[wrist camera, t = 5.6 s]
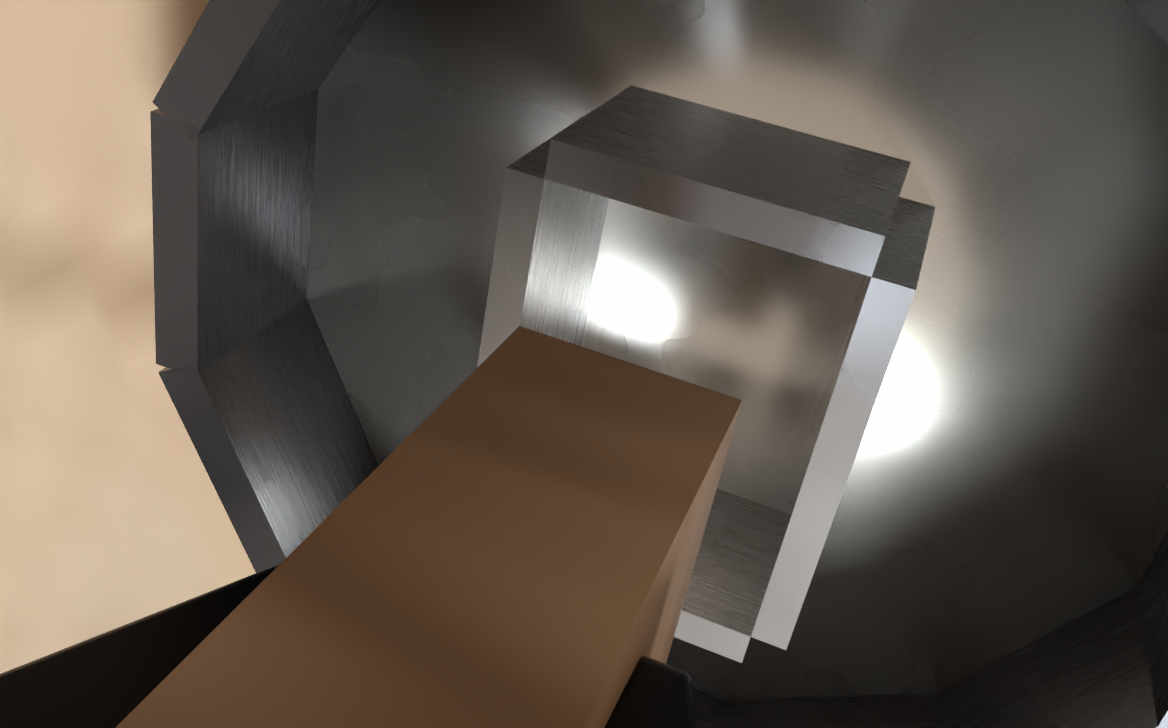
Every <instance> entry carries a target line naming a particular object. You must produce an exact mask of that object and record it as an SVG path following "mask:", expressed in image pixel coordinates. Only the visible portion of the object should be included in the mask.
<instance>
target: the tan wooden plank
mask: <svg viewBox="0 0 1168 728" xmlns="http://www.w3.org/2000/svg"><path fill="white" fill-rule="evenodd" d="M741 403H742V400H741V399H738V398H735V397H732V396H729V395H726V394H723V393H720V392H717V391H714V390H711V389H708V388H705V387H702V386H699V385H696V384H693V383H690V382H687V381H684V380H681V379H678V378H675V377H672V376H669V375H666V374H663V373H660V372H657V371H654V370H651V369H648V368H645V367H642V366H639V365H636V364H633V363H630V362H627V361H624V360H621V359H618V358H614V357H611V356H608V355H605V354H602V353H599V352H596V351H593V350H590V349H587V348H584V347H581V346H578V345H575V344H572V343H569V342H566V341H563V340H560V339H557V338H554V337H551V336H548V335H545V334H542V333H539V332H536V331H533V330H530V329H527V328H524V327H521V326H519V327H518V328H517V329H516V330H515V331H514V332H513V333H512V334H511V335H510V336H509V337H508V338H507V339H506V340H505V341H504V342H503V343H502V344H501V345H500V346H499V347H498V348H497V349H496V350H495V351H494V352H493V353H492V354H491V355H490V356H489V357H488V358H487V359H486V360H485V361H484V362H483V363H482V364H481V365H480V366H479V367H478V368H477V369H476V370H475V371H474V372H473V373H472V374H471V375H470V376H469V377H468V378H467V379H466V380H465V381H464V382H463V383H462V384H461V385H460V386H459V387H458V388H457V389H456V390H454V391H453V392H452V393H451V394H450V395H449V396H448V397H447V398H446V399H445V400H444V401H443V402H442V403H441V404H440V405H439V406H438V407H437V408H436V409H435V410H434V411H433V412H432V413H431V414H430V415H429V416H428V417H427V418H426V419H425V420H424V421H423V422H422V423H421V424H420V425H419V426H418V427H417V428H416V429H415V430H414V431H413V432H412V433H411V434H410V435H409V436H408V437H407V438H406V439H405V440H404V441H403V442H402V443H401V444H400V445H399V446H398V447H397V448H396V449H395V450H394V451H393V452H392V453H391V454H390V455H389V456H388V457H387V458H386V459H385V460H384V461H383V462H382V463H381V464H380V465H379V466H378V467H377V468H376V469H375V470H374V471H373V472H372V473H371V474H370V475H369V476H368V477H367V478H366V479H365V480H364V481H363V482H362V483H361V484H360V485H359V486H358V487H357V488H356V489H355V490H354V491H353V492H352V493H351V494H350V495H349V496H348V497H347V498H346V499H345V500H344V501H343V502H342V503H341V504H340V505H339V506H338V507H337V508H336V509H335V510H334V511H333V512H332V513H331V514H330V515H329V516H328V517H327V518H326V519H325V520H324V521H323V522H322V523H321V524H320V525H319V526H318V527H317V528H316V529H315V530H314V531H313V532H312V533H311V534H310V535H309V536H308V537H307V538H306V539H305V540H304V541H303V542H302V543H301V544H300V545H299V546H298V547H297V548H296V549H295V550H294V551H293V552H292V553H291V554H290V555H289V556H288V557H287V558H286V559H285V560H284V561H283V562H282V563H281V564H280V565H279V566H278V567H277V568H276V569H275V570H274V571H273V572H272V573H270V574H269V575H268V576H267V577H266V578H265V579H264V580H263V581H262V582H261V583H260V584H259V585H258V586H257V587H256V588H255V589H254V590H253V591H252V592H251V593H250V594H249V595H248V596H247V597H246V598H245V599H244V600H243V601H242V602H241V603H240V604H239V605H238V606H237V607H236V608H235V609H234V610H233V611H232V612H231V613H230V614H229V615H228V616H227V617H226V618H225V619H224V620H223V621H222V622H221V623H220V624H219V625H218V626H217V627H216V628H215V629H214V630H213V631H212V632H211V633H210V634H209V635H208V636H207V637H206V638H205V639H204V640H203V641H202V642H201V643H200V644H199V645H198V646H197V647H196V648H195V649H194V650H193V651H192V652H191V653H190V654H189V655H188V656H187V657H186V658H185V659H184V660H183V661H182V662H181V663H180V664H179V665H178V666H177V667H176V668H175V669H174V670H173V671H172V672H171V673H170V674H169V675H168V676H167V677H166V678H165V679H164V680H163V681H162V682H161V683H160V684H159V685H158V686H157V687H156V688H155V689H154V690H153V691H152V692H151V693H150V694H149V695H148V696H147V697H146V698H145V699H144V700H143V701H142V702H141V703H140V704H139V705H138V706H137V707H136V708H135V709H134V710H133V711H132V712H131V713H130V714H129V715H128V716H127V717H126V718H125V719H124V720H123V721H122V722H121V723H120V724H119V725H118V726H117V727H116V728H604V727H605V725H606V723H607V721H608V719H609V717H610V716H611V714H612V712H613V710H614V708H615V706H616V704H617V702H618V700H619V698H620V696H621V694H622V692H623V690H624V688H625V686H626V684H627V682H628V680H629V678H630V676H631V674H632V672H633V670H634V669H635V667H636V665H637V663H638V661H639V659H640V658H641V657H642V656H648V657H650V658H653V659H655V660H658V661H660V662H663V663H665V664H666V662H667V659H668V655H669V652H670V648H671V645H672V641H673V638H674V634H675V631H676V628H677V624H678V621H679V617H680V614H681V610H682V607H683V603H684V600H685V596H686V593H687V590H688V586H689V583H690V579H691V576H692V572H693V569H694V565H695V562H696V558H697V555H698V552H699V548H700V545H701V541H702V538H703V534H704V531H705V527H706V524H707V521H708V517H709V514H710V510H711V507H712V503H713V500H714V496H715V493H716V489H717V486H718V483H719V479H720V476H721V472H722V469H723V465H724V462H725V458H726V455H727V451H728V448H729V445H730V441H731V438H732V434H733V431H734V427H735V424H736V420H737V417H738V413H739V410H740V407H741Z"/></svg>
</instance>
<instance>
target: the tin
mask: <svg viewBox="0 0 1168 728" xmlns="http://www.w3.org/2000/svg"><path fill="white" fill-rule="evenodd" d="M153 103H154V104H155V105H156V106H157V107H158V108H159V109H157V110H154V111H151V155H152V200H153V245H154V290H155V335H156V364H159V365H161V366H164V367H166V368H164V369H163V370H161V371H159V375H160V377H161V379H162V381H163V383H164V385H165V387H166V389H167V391H168V393H169V395H170V397H171V399H172V401H173V403H174V405H175V407H176V409H177V411H178V413H179V416H180V418H181V420H182V422H183V424H184V426H185V428H186V430H187V432H188V434H189V436H190V438H191V440H192V442H193V444H194V446H195V448H196V450H197V452H198V454H199V457H200V459H201V461H202V463H203V465H204V467H205V469H206V471H207V473H208V475H209V477H210V479H211V481H212V483H213V485H214V487H215V489H216V491H217V493H218V496H219V498H220V500H221V502H222V504H223V506H224V508H225V510H226V512H227V514H228V516H229V518H230V520H231V522H232V524H233V526H234V528H235V530H236V532H237V534H238V537H239V539H240V541H241V543H242V545H243V547H244V549H245V551H246V553H247V555H248V557H249V559H250V561H251V563H252V565H253V567H254V569H255V571H256V573H259V572H261V571H264V570H266V569H269V568H271V567H274V566H276V565H279V564H281V563H282V562H283V561H284V560H285V559H286V558H287V557H288V556H289V555H290V554H291V553H292V552H293V551H294V550H295V549H296V548H297V547H298V546H299V545H300V544H301V543H302V542H303V541H304V540H305V539H306V538H307V537H308V536H309V535H310V534H311V533H312V532H313V531H314V530H315V529H316V528H317V527H318V526H319V525H320V524H321V523H322V522H323V521H324V520H325V519H326V518H327V517H328V516H329V515H330V514H331V513H332V512H333V511H334V510H335V509H336V508H337V507H338V506H339V505H340V504H341V503H342V502H343V501H344V500H345V499H346V498H347V497H348V496H349V495H350V494H351V493H352V492H353V491H354V490H355V489H356V488H357V487H358V486H359V485H360V484H361V483H362V482H363V481H364V480H365V479H366V478H367V477H368V476H369V475H370V474H371V473H372V472H373V471H374V470H375V469H376V468H377V467H378V466H379V465H380V464H381V463H382V462H383V461H384V460H385V459H386V458H387V457H388V456H389V455H390V454H391V453H392V452H393V451H394V450H395V449H396V448H397V447H398V446H399V445H400V444H401V443H402V442H403V441H404V440H405V439H406V438H407V437H408V436H409V435H410V434H411V433H412V432H413V431H414V430H415V429H416V428H417V427H418V426H419V425H420V424H421V423H422V422H423V421H424V420H425V419H426V418H427V417H428V416H429V415H430V414H431V413H432V412H433V411H434V410H435V409H436V408H437V407H438V406H439V405H440V404H441V403H442V402H443V401H444V400H445V399H446V398H447V397H448V396H449V395H450V394H451V393H452V392H453V391H454V390H456V389H457V388H458V387H459V386H460V385H461V384H462V383H463V382H464V381H465V380H466V379H467V378H468V377H469V376H470V375H471V374H472V373H473V372H474V371H475V370H476V369H477V368H478V367H479V366H480V365H481V364H482V363H483V362H484V361H485V360H486V359H487V358H488V357H489V356H490V355H491V354H492V353H493V352H494V351H495V350H496V349H497V348H498V347H499V346H500V345H501V344H502V343H503V342H504V341H505V340H506V339H507V338H508V337H509V336H510V335H511V334H512V333H513V332H514V331H515V330H516V329H517V328H518V327H519V326H521V327H524V328H527V329H530V330H533V331H536V332H539V333H542V334H545V335H548V336H551V337H554V338H557V339H560V340H563V341H566V342H569V343H572V344H575V345H578V346H581V347H584V348H587V349H590V350H593V351H596V352H599V353H602V354H605V355H608V356H611V357H614V358H618V359H621V360H624V361H627V362H630V363H633V364H636V365H639V366H642V367H645V368H648V369H651V370H654V371H657V372H660V373H663V374H666V375H669V376H672V377H675V378H678V379H681V380H684V381H687V382H690V383H693V384H696V385H699V386H702V387H705V388H708V389H711V390H714V391H717V392H720V393H723V394H726V395H729V396H732V397H735V398H738V399H741V400H742V403H741V407H740V410H739V413H738V417H737V420H736V424H735V427H734V431H733V434H732V438H731V441H730V445H729V448H728V451H727V455H726V458H725V462H724V465H723V469H722V472H721V476H720V479H719V483H718V486H717V489H716V493H715V496H714V500H713V503H712V507H711V510H710V514H709V517H708V521H707V524H706V527H705V531H704V534H703V538H702V541H701V545H700V548H699V552H698V555H697V558H696V562H695V565H694V569H693V572H692V576H691V579H690V583H689V586H688V590H687V593H686V596H685V600H684V603H683V607H682V610H681V614H680V617H679V621H678V624H677V628H676V631H675V634H674V638H673V641H672V645H671V648H670V652H669V655H668V659H667V662H666V664H668V665H671V666H673V667H676V668H678V669H681V670H683V671H685V672H687V673H688V675H689V676H690V678H691V681H692V685H693V694H694V704H695V714H696V723H697V728H1168V0H210V1H209V3H208V5H207V7H206V8H205V10H204V12H203V14H202V16H201V17H200V19H199V21H198V23H197V24H196V26H195V28H194V30H193V32H192V33H191V35H190V37H189V39H188V40H187V42H186V44H185V46H184V47H183V49H182V51H181V53H180V55H179V56H178V58H177V60H176V62H175V63H174V65H173V67H172V69H171V70H170V72H169V74H168V76H167V78H166V79H165V81H164V83H163V85H162V86H161V88H160V90H159V92H158V93H157V95H156V97H155V99H154V101H153Z"/></svg>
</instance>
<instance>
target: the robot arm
mask: <svg viewBox="0 0 1168 728" xmlns="http://www.w3.org/2000/svg"><path fill="white" fill-rule="evenodd" d="M279 565H280V564H279ZM279 565H276V566H274V567H271V568H269V569H266V570H264V571H261V572H259V573H256V574H253V575H251V576H248V577H246V578H243V579H241V580H238V581H236V582H233V583H231V584H228V585H226V586H223V587H220V588H218V589H215V590H213V591H210V592H208V593H205V594H203V595H200V596H198V597H195V598H192V599H190V600H187V601H185V602H182V603H180V604H177V605H175V606H172V607H170V608H167V609H164V610H162V611H159V612H157V613H154V614H152V615H149V616H147V617H144V618H142V619H139V620H136V621H134V622H131V623H129V624H126V625H124V626H121V627H119V628H116V629H114V630H111V631H108V632H106V633H103V634H101V635H98V636H96V637H93V638H91V639H88V640H86V641H83V642H80V643H78V644H75V645H73V646H70V647H68V648H65V649H63V650H60V651H58V652H55V653H53V654H50V655H47V656H45V657H42V658H40V659H37V660H35V661H32V662H30V663H27V664H25V665H22V666H19V667H17V668H14V669H12V670H9V671H7V672H4V673H2V674H0V728H116V727H117V726H118V725H119V724H120V723H121V722H122V721H123V720H124V719H125V718H126V717H127V716H128V715H129V714H130V713H131V712H132V711H133V710H134V709H135V708H136V707H137V706H138V705H139V704H140V703H141V702H142V701H143V700H144V699H145V698H146V697H147V696H148V695H149V694H150V693H151V692H152V691H153V690H154V689H155V688H156V687H157V686H158V685H159V684H160V683H161V682H162V681H163V680H164V679H165V678H166V677H167V676H168V675H169V674H170V673H171V672H172V671H173V670H174V669H175V668H176V667H177V666H178V665H179V664H180V663H181V662H182V661H183V660H184V659H185V658H186V657H187V656H188V655H189V654H190V653H191V652H192V651H193V650H194V649H195V648H196V647H197V646H198V645H199V644H200V643H201V642H202V641H203V640H204V639H205V638H206V637H207V636H208V635H209V634H210V633H211V632H212V631H213V630H214V629H215V628H216V627H217V626H218V625H219V624H220V623H221V622H222V621H223V620H224V619H225V618H226V617H227V616H228V615H229V614H230V613H231V612H232V611H233V610H234V609H235V608H236V607H237V606H238V605H239V604H240V603H241V602H242V601H243V600H244V599H245V598H246V597H247V596H248V595H249V594H250V593H251V592H252V591H253V590H254V589H255V588H256V587H257V586H258V585H259V584H260V583H261V582H262V581H263V580H264V579H265V578H266V577H267V576H268V575H269V574H270V573H272V572H273V571H274V570H275V569H276V568H277V567H278V566H279ZM604 728H697V723H696V714H695V704H694V694H693V685H692V681H691V678H690V676H689V675H688V673H687V672H685V671H683V670H681V669H678V668H676V667H673V666H671V665H668V664H665V663H663V662H660V661H658V660H655V659H653V658H650V657H648V656H642V657H641V658H640V659H639V661H638V663H637V665H636V667H635V669H634V670H633V672H632V674H631V676H630V678H629V680H628V682H627V684H626V686H625V688H624V690H623V692H622V694H621V696H620V698H619V700H618V702H617V704H616V706H615V708H614V710H613V712H612V714H611V716H610V717H609V719H608V721H607V723H606V725H605V727H604Z"/></svg>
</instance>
